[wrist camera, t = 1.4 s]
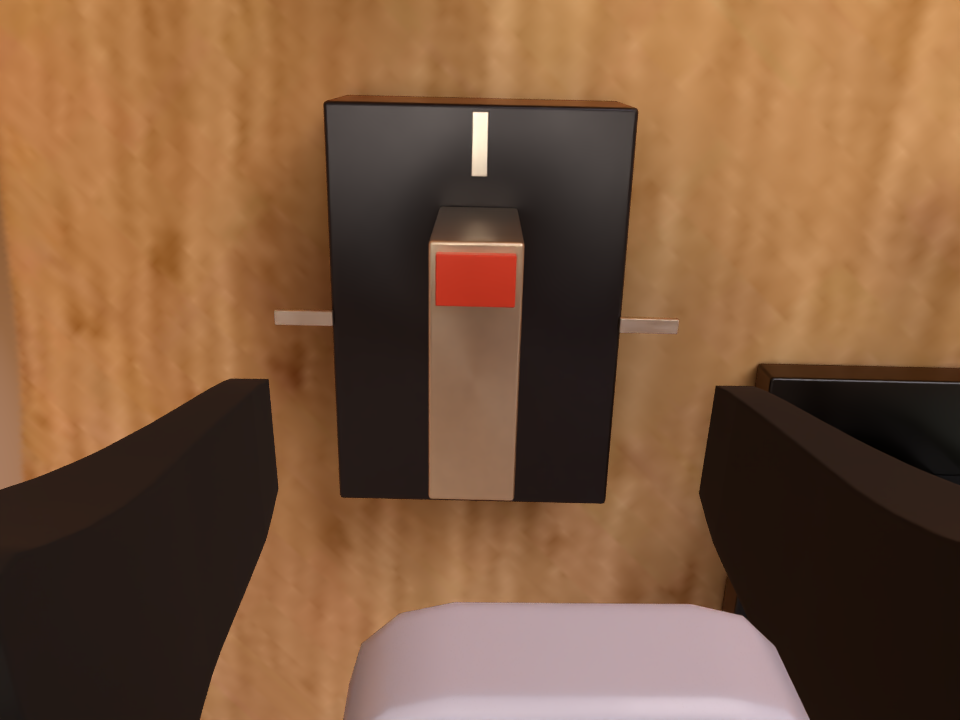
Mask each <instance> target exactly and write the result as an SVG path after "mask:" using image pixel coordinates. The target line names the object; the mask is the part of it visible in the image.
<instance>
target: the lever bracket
mask: <svg viewBox="0 0 960 720" xmlns="http://www.w3.org/2000/svg"><path fill="white" fill-rule="evenodd" d="M755 387H757V388H760V389H762V390H765V391H767V392H769V393H771V394H773V395H775V396H777V397H779V398H781V399H783V400H785V401H787V402H789V403H791V404H793V405H794V406H796V407H798V408H800V409H802V410H803V411H805V412H807V413H809V414H811V415H813V416H814V417H816V418H818V419H820V420H822V421H823V422H825V423H827V424H829V425H831V426H833V427H834V428H836V429H838V430H840V431H842V432H844V433H846V434H848V435H849V436H851V437H853V438H855V439H857V440H859V441H861V442H863V443H865V444H867V445H869V446H871V447H873V448H875V449H877V450H879V451H881V452H883V453H885V454H887V455H890V456H892V457H894V458H896V459H898V460H900V461H902V462H904V463H906V464H909V465H911V466H913V467H915V468H918V469H920V470H922V471H925V472H927V473H930V474H932V475H935V476H937V477H940V478H942V479H945V480H948V481H950V482H953V483H955V484H958V485H960V368H928V367H885V366H842V365H799V364H759V365H758V370H757V377H756V384H755ZM722 611H724V612H728V613H732V614H737V615H741V616H744V617H745V618H746V619H747V620H748V617H747V615H746V613H745V611H744V609H743V607H742V605H741V603H740V600H739V598H738V596H737V594H736V592H735V590H734V588H733V586H732V583H731V581H730V579H729V577H728V575H727V579H726V586H725V593H724V599H723V606H722ZM748 621H749V620H748Z"/></svg>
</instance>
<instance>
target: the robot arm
mask: <svg viewBox="0 0 960 720" xmlns="http://www.w3.org/2000/svg"><path fill="white" fill-rule="evenodd" d="M277 492H278V479H277V468H276V457H275V446H274V435H273V424H272V413H271V401H270V390H269V379H228V380H226V381H223V382H221V383H219V384H217V385H216V386H214V387H212V388H210V389H208V390H207V391H205V392H203V393H201V394H200V395H198V396H196V397H195V398H193V399H191V400H190V401H188V402H186V403H185V404H183V405H181V406H180V407H178V408H176V409H175V410H173V411H171V412H169V413H168V414H166V415H164V416H163V417H161V418H159V419H158V420H156V421H154V422H153V423H151V424H149V425H147V426H145V427H143V428H141V429H140V430H138V431H136V432H134V433H132V434H130V435H128V436H126V437H125V438H123V439H121V440H119V441H117V442H115V443H113V444H111V445H110V446H108V447H106V448H104V449H102V450H100V451H98V452H96V453H94V454H91V455H89V456H87V457H85V458H83V459H80V460H78V461H76V462H74V463H71V464H69V465H67V466H64V467H62V468H59V469H57V470H54V471H52V472H50V473H47V474H45V475H42V476H39V477H37V478H34V479H31V480H28V481H25V482H22V483H19V484H16V485H13V486H10V487H7V488H4V489H1V490H0V720H200V717H201V713H202V709H203V706H204V702H205V699H206V695H207V692H208V688H209V684H210V681H211V677H212V674H213V671H214V669H215V666H216V663H217V660H218V657H219V655H220V652H221V649H222V647H223V644H224V642H225V639H226V637H227V634H228V632H229V630H230V627H231V625H232V622H233V620H234V617H235V615H236V613H237V610H238V608H239V605H240V603H241V600H242V598H243V596H244V593H245V591H246V588H247V586H248V583H249V581H250V579H251V576H252V574H253V571H254V569H255V566H256V564H257V561H258V559H259V556H260V554H261V551H262V549H263V546H264V543H265V541H266V538H267V534H268V530H269V526H270V522H271V518H272V514H273V510H274V505H275V501H276V497H277ZM699 495H700V499H701V502H702V506H703V510H704V514H705V517H706V521H707V524H708V528H709V531H710V534H711V537H712V541H713V544H714V546H715V548H716V551H717V553H718V555H719V557H720V559H721V562H722V564H723V566H724V568H725V570H726V573H727V575H728V577H729V579H730V581H731V583H732V586H733V588H734V590H735V592H736V594H737V596H738V598H739V600H740V603H741V605H742V607H743V609H744V611H745V613H746V615H747V617H748V620H749V621H748V620H747V619H746V618H745V617H744V616H741V615H737V614H732V613H728V612H724V611H719V610H715V609H711V608H706V607H702V606H697V605H693V604H615V603H487V602H453V603H448V604H443V605H438V606H433V607H429V608H424V609H419V610H414V611H409V612H404V613H400V614H398V615H397V616H396V617H395V618H393V619H392V620H391V621H390V622H388V623H387V624H386V625H385V626H383V627H382V628H381V629H379V630H378V631H377V632H376V633H374V634H373V635H372V636H371V637H369V638H368V639H367V640H366V641H364V642H363V643H362V644H361V647H360V650H359V654H358V657H357V660H356V663H355V667H354V670H353V673H352V677H351V680H350V683H349V689H348V695H347V701H346V707H345V712H344V718H343V720H960V485H958V484H955V483H953V482H950V481H948V480H945V479H942V478H940V477H937V476H935V475H932V474H930V473H927V472H925V471H922V470H920V469H918V468H915V467H913V466H911V465H909V464H906V463H904V462H902V461H900V460H898V459H896V458H894V457H892V456H890V455H887V454H885V453H883V452H881V451H879V450H877V449H875V448H873V447H871V446H869V445H867V444H865V443H863V442H861V441H859V440H857V439H855V438H853V437H851V436H849V435H848V434H846V433H844V432H842V431H840V430H838V429H836V428H834V427H833V426H831V425H829V424H827V423H825V422H823V421H822V420H820V419H818V418H816V417H814V416H813V415H811V414H809V413H807V412H805V411H803V410H802V409H800V408H798V407H796V406H794V405H793V404H791V403H789V402H787V401H785V400H783V399H781V398H779V397H777V396H775V395H773V394H771V393H769V392H767V391H765V390H762V389H760V388H757V387H754V386H716V389H715V395H714V401H713V408H712V414H711V420H710V427H709V433H708V440H707V446H706V452H705V459H704V465H703V471H702V478H701V484H700V490H699Z"/></svg>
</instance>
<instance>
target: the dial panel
mask: <svg viewBox="0 0 960 720" xmlns="http://www.w3.org/2000/svg"><path fill="white" fill-rule="evenodd" d="M323 108H324V131H325V155H326V178H327V202H328V225H329V248H330V272H331V295H332V310H301V309H275V310H274V318H275V325H311V326H333V342H334V366H335V389H336V412H337V436H338V459H339V483H340V495H341V497H344V498H386V499H429V500H463V499H431V498H430V497H429V241H430V237H431V234H432V231H433V228H434V225H435V222H436V219H437V215H438V212H439V209H440V207H484V208H515V209H517V211H518V215H519V220H520V225H521V230H522V235H523V241H524V246H525V247H524V271H523V296H522V320H521V345H520V369H519V394H518V418H517V443H516V467H515V492H514V499H513V500H511V501H514V502H557V503H599V504H602V503H604V502H605V499H606V487H607V476H608V464H609V452H610V440H611V428H612V417H613V405H614V393H615V381H616V369H617V358H618V346H619V334H620V333H655V334H677V333H678V324H679V320H678V318H645V317H621V310H622V298H623V287H624V275H625V263H626V251H627V239H628V228H629V216H630V204H631V192H632V180H633V168H634V157H635V145H636V133H637V121H638V110H637V109H636V108H634V107H631V106H628V105H626V104H623V103H620V102H617V101H586V100H542V99H499V98H455V97H412V96H368V95H346V96H342V97H339V98H335V99H331V100H327V101H325V102H324V105H323ZM471 501H505V500H471Z"/></svg>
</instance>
